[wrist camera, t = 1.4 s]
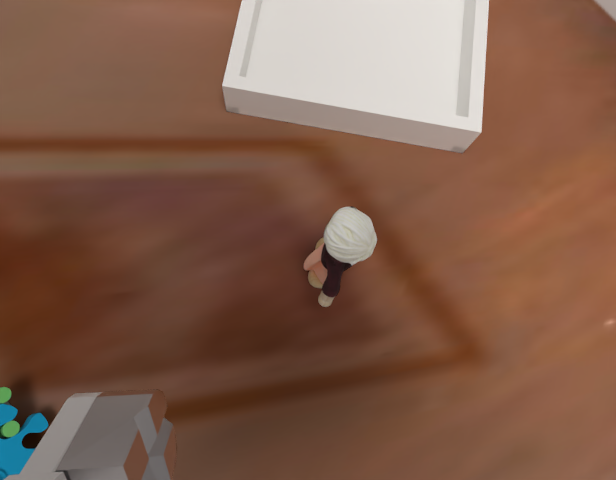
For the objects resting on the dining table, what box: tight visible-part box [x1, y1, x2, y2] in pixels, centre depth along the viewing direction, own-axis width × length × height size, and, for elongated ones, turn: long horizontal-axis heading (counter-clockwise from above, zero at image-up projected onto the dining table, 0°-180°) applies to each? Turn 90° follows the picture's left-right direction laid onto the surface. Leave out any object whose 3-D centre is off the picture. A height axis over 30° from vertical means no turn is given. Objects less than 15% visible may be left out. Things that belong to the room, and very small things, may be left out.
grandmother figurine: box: [304, 206, 377, 307], centre depth 33 cm, size 8×4×13 cm, turn 174°
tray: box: [222, 0, 489, 153], centre depth 43 cm, size 22×20×4 cm
